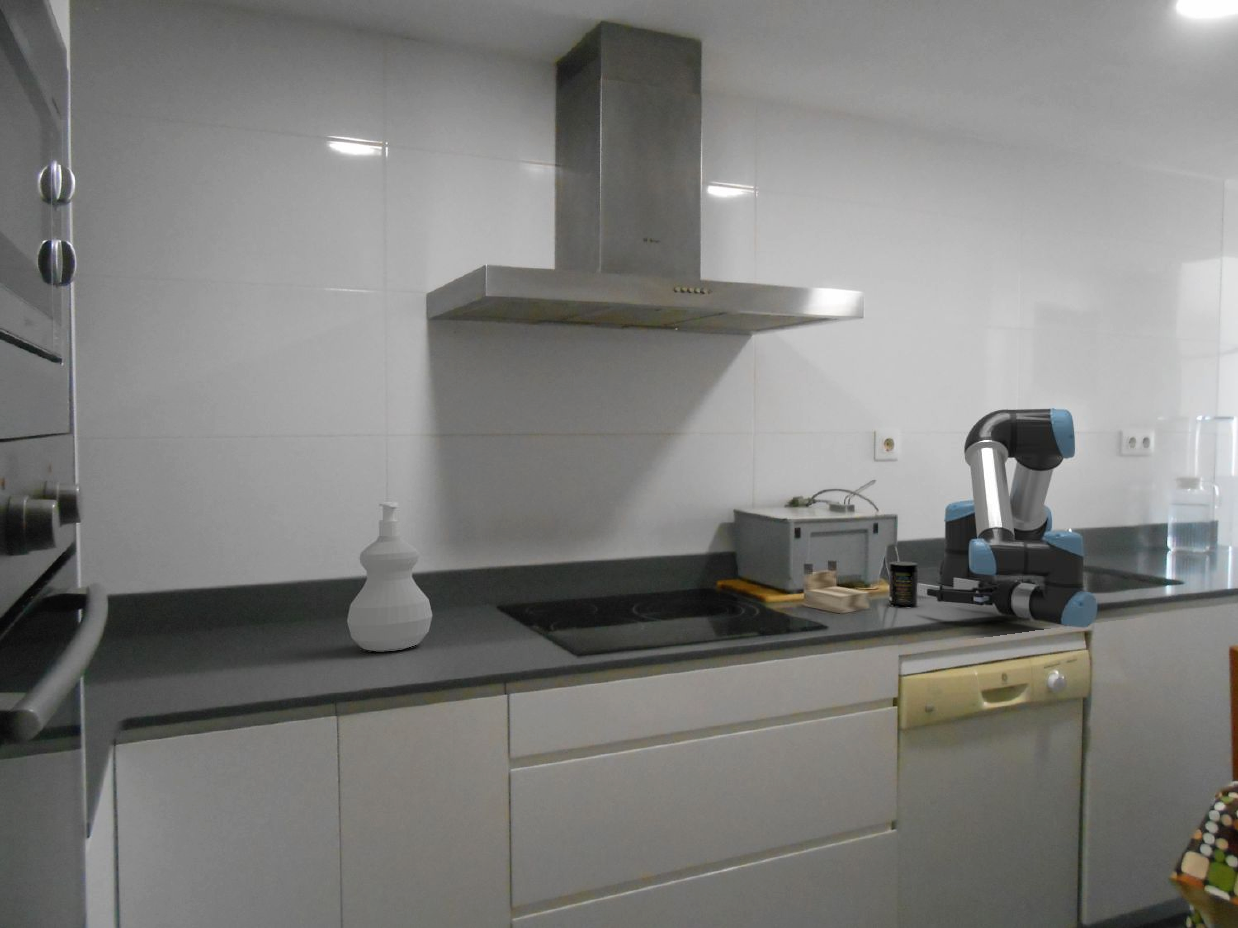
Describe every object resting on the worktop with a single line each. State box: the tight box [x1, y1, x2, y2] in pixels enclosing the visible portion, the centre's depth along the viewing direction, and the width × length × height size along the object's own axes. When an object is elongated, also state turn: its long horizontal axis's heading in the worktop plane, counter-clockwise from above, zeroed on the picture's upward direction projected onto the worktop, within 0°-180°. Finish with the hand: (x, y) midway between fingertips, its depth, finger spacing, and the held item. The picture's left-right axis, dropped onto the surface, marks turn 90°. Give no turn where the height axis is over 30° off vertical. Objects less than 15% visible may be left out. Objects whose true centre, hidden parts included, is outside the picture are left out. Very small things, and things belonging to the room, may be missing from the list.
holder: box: [803, 559, 871, 614], centre depth 221 cm, size 10×12×10 cm
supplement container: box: [888, 560, 919, 608], centre depth 223 cm, size 7×7×10 cm
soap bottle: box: [346, 501, 433, 650], centre depth 181 cm, size 17×12×29 cm
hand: (936, 586), depth 215 cm, fingers open, 13 cm apart
